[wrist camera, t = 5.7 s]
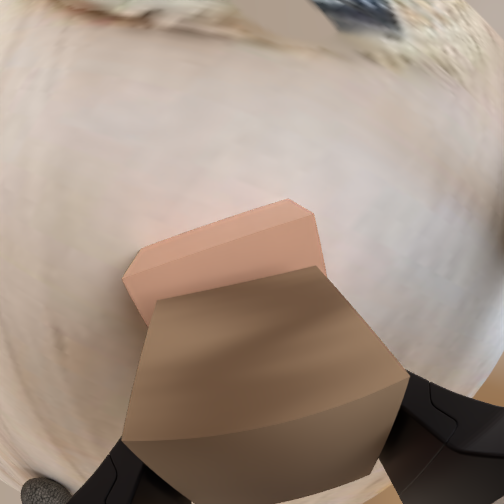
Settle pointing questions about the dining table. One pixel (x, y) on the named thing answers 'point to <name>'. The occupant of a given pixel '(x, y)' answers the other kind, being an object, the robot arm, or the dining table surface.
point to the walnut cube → (262, 391)
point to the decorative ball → (43, 492)
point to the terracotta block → (225, 254)
